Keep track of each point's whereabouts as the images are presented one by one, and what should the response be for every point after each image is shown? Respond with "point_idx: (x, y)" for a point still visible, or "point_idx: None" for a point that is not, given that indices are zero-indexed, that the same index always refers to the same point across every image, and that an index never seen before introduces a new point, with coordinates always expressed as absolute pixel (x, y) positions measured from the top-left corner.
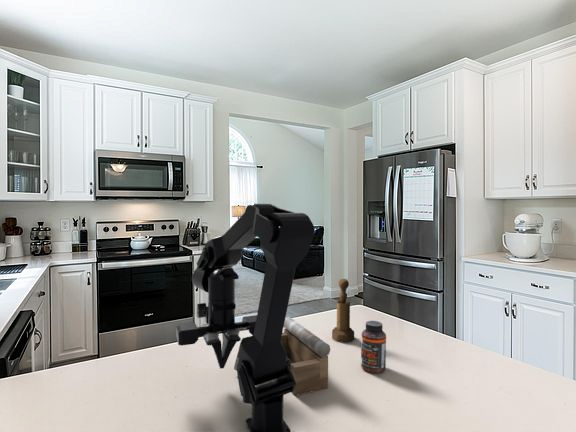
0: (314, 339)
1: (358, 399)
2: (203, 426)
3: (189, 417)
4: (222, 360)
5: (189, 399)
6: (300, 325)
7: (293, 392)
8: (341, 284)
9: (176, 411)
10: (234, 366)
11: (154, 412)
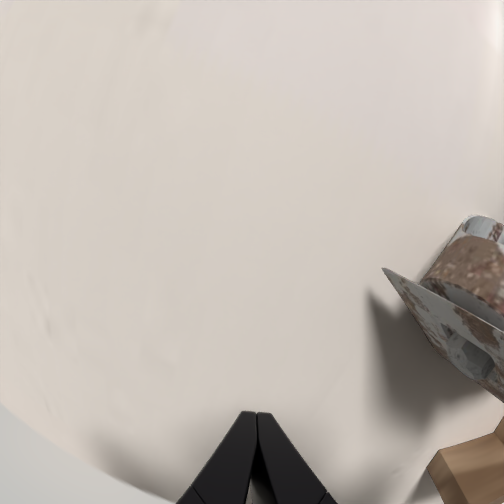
0: None
1: None
2: (141, 488)
3: (104, 451)
4: (253, 481)
5: (96, 376)
6: None
7: (432, 466)
8: None
9: (64, 409)
10: (392, 273)
11: (12, 374)
